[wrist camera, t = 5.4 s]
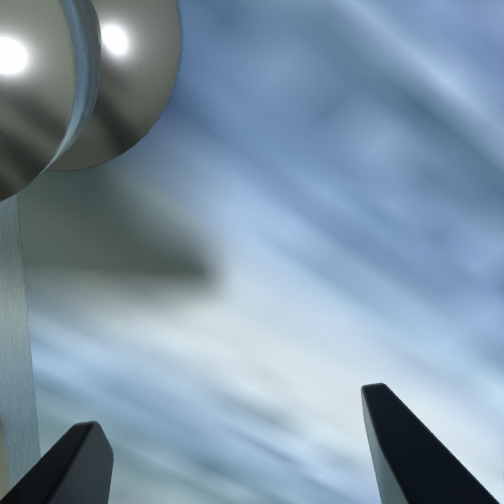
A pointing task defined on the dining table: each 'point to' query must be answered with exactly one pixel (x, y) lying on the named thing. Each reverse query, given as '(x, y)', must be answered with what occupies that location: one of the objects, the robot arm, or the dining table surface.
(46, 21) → the clip
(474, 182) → the dining table surface
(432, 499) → the robot arm
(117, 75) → the clip post
